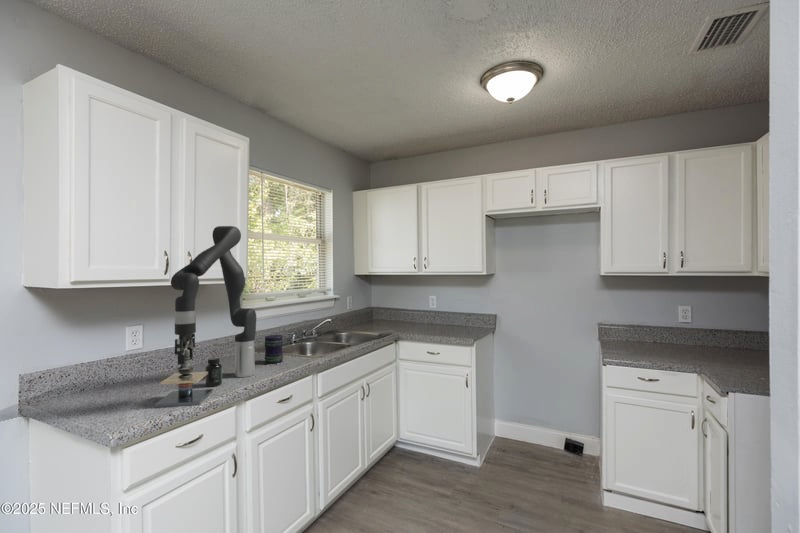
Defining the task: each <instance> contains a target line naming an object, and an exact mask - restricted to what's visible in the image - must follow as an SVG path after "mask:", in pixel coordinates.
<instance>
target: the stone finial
mask: <svg viewBox="0 0 800 533" xmlns="http://www.w3.org/2000/svg"><path fill="white" fill-rule="evenodd" d="M190 358H191V357H190V351H189V350H188V349H187V350H185V354H184V364H183V365H179V367H177V368H176V369H177V370H178V373H180V374H183V375H180V376H179V377H178V378H188V377H192V376H193V375H192V374H189V373H191V372H193V370H194V368H195V366H193V365H191V360H190Z"/></svg>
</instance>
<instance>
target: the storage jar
mask: <svg viewBox="0 0 800 533" xmlns="http://www.w3.org/2000/svg"><path fill="white" fill-rule="evenodd" d="M283 336H284V335H281V334H270V335H266V336H264V347H265V348H264V349H265V350H264V351H265V353H264V364H265V363H266V364H265V365H267V364H276V365H278V364H277V363H281V362H283V360H284V355H283V354H284V353H283V345H284V344H283V343H284V338H283ZM281 364H282V363H281Z"/></svg>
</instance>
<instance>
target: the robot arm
mask: <svg viewBox="0 0 800 533" xmlns="http://www.w3.org/2000/svg"><path fill="white" fill-rule="evenodd" d="M241 238H242V233H241V230H240V229H239V227H237V226H233V225H219V226H215V227H214V228H213V231H212V240H213V245H212V246H210V247H209V248H206V249H205V250H203V251H202V252H200V253H199V254H197V255H196V256H195V258H194V259H192V261H190V262H189V264H187V265H185V266H184V267H183V268H182V267H181V269H179V270H178V271H177V272H175V273H174V274H173V275H172V276H171V279H170V286H171V288H173V290H176V291H182V294H181V295H180V296H177V297H176V298H175V301H174V302H175V303H174V304H175V305H174V307H175V308H174V311H175V312H174V335H176V336H178V338H175V339H174V355H176V356H177V365H178V366H181V365H183V364H184V354H185V350H187V349H188V350H189V351H190V357H191V358H190V361H191V360H193V357H194V356H193V351H194V348H195V347H196V332H197V331H196V330H197V327H196V326H197V325H196V324H197V323H196V318H197V316H196V315H197V314H196V298H197V295H198V291H199V288H200V279H199V277H201V276H203V275H205V274H206V273H207V272H208V271H209V269H211V267H212V266H213V265H214V264H215V263H216V262H217V261H218V260H219V263H220V267H221V272H222V276H223V281H224V282H223V283H224V286H225V289H226V294H227V299H228V305H229V306H228V307H229V316H230V317H229V318H230V321H231V324H232V326H234V327H237V328H238V327H239V328H243V330H242V332H240V333H238V334H237V333H236V335H235V336H234V377H236V378H246V377H247V378H248V377H251V376H254V375H255V374H256V371H255V369H256V368H255V367H256V366H255V365H256V361H255V360H256V358H255V357H256V352H255V351H256V350H255V349H256V340H255V337H256V333H257V331H256V330H257V312H256V310H255V309H254V308H250V307H249V308H244V307H243V308H242V306H241V296H242V294H243V291H244V289H245V287H246V278H245V273H244V269H243V267H242V266H241V265H240V263H239V262H238V261H237V260H236V259H235V257H234V256H233V253H232V252H231V249H233V248H234V247H236V246H237V245H238V244H239V243H240V241H241Z"/></svg>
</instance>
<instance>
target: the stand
mask: <svg viewBox="0 0 800 533" xmlns="http://www.w3.org/2000/svg"><path fill="white" fill-rule="evenodd" d="M189 374H192V375H193V376H192V377H188V378H178V377H179V376H180V375H183V374H180V373H179V372H175V373H173V374H171V375H170V376H168V377H166V378H164V379H163V380H162V381H160V385H177V390H174V391H171V392H169V393H168V394H167V395H165V396H164V397H162V398H161V399H159V401H157V402H156V403H155V404H154V408H169V407H170V408H171V407H186V406H200V405H201V404H202V403H203V402H204V401H205V400H206V399H207V398H208V397H209V396H210V395H211V394H213V392H214V389H213V388H210V389H193V385H194V384H195V383H196V384H197V383H198V382H200V381H202V379H204V378H205V376H206V375H207V374H208V372H205V371H192V372H191V373H189Z"/></svg>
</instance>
